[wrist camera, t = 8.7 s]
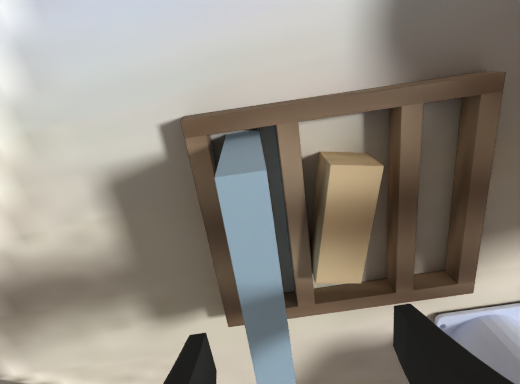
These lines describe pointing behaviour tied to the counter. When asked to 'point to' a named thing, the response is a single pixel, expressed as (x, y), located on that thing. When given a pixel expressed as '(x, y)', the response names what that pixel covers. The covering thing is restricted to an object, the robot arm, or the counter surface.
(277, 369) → the panel
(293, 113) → the rack
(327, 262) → the offcut
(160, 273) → the counter surface
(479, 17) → the counter surface
